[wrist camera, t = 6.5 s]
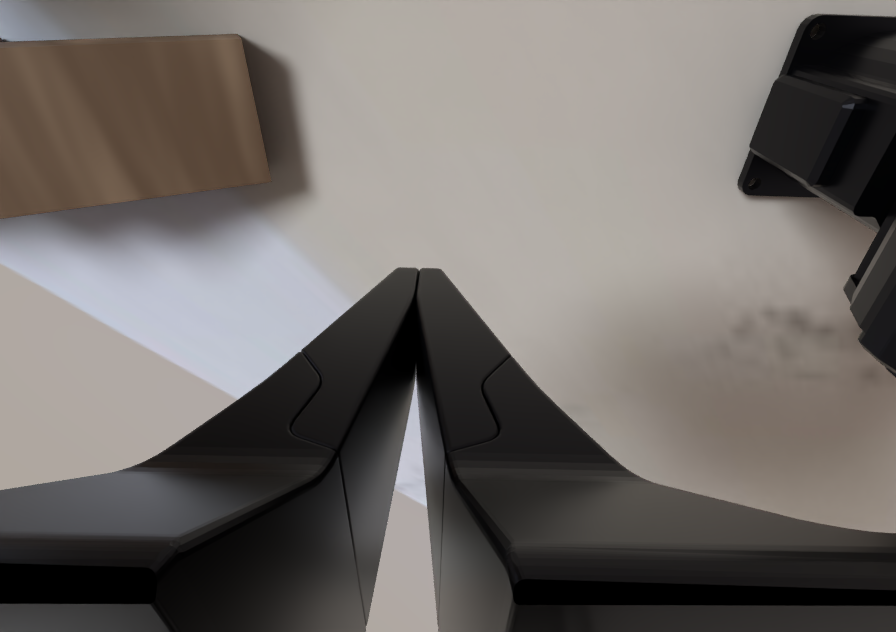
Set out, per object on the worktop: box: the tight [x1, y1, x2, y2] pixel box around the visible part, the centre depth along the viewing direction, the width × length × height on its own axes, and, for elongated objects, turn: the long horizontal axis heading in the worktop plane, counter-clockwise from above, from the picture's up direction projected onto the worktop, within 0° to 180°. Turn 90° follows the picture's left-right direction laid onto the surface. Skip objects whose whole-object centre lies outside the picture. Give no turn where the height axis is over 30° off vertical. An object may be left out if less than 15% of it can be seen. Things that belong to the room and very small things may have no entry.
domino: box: [0, 34, 272, 219], centre depth 17 cm, size 2×5×10 cm
